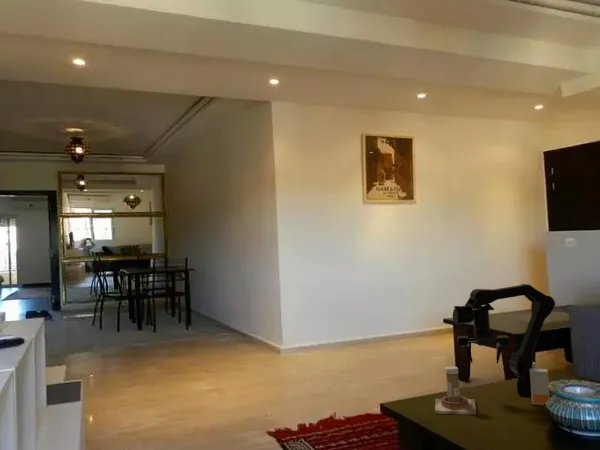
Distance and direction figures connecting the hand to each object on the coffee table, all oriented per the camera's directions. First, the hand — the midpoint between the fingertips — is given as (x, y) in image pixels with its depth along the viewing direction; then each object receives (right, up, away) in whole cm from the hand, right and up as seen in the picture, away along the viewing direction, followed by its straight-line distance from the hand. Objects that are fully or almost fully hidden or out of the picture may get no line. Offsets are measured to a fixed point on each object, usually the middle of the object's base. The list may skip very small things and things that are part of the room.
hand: (484, 363), depth 201 cm
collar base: (-14, -14, -10) cm, 22 cm away
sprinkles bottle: (-14, -13, -9) cm, 21 cm away
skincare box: (+17, -12, -11) cm, 23 cm away
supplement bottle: (+22, -12, +9) cm, 27 cm away
